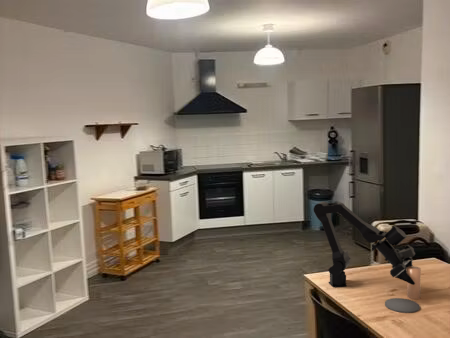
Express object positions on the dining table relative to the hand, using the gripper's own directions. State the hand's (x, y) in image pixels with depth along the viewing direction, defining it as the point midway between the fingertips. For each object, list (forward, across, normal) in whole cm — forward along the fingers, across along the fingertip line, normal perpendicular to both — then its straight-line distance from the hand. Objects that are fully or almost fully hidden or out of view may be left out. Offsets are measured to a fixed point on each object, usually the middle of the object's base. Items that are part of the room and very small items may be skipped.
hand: (416, 280), depth 189 cm
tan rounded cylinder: (+4, 0, +6) cm, 7 cm away
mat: (+3, -12, +7) cm, 15 cm away
